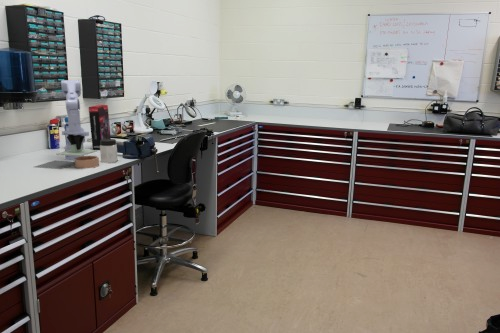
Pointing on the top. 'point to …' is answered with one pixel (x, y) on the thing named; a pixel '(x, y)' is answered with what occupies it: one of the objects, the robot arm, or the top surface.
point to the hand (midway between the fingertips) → (76, 149)
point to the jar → (108, 150)
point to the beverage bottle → (66, 125)
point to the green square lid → (76, 151)
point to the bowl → (87, 162)
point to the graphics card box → (99, 124)
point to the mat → (56, 164)
